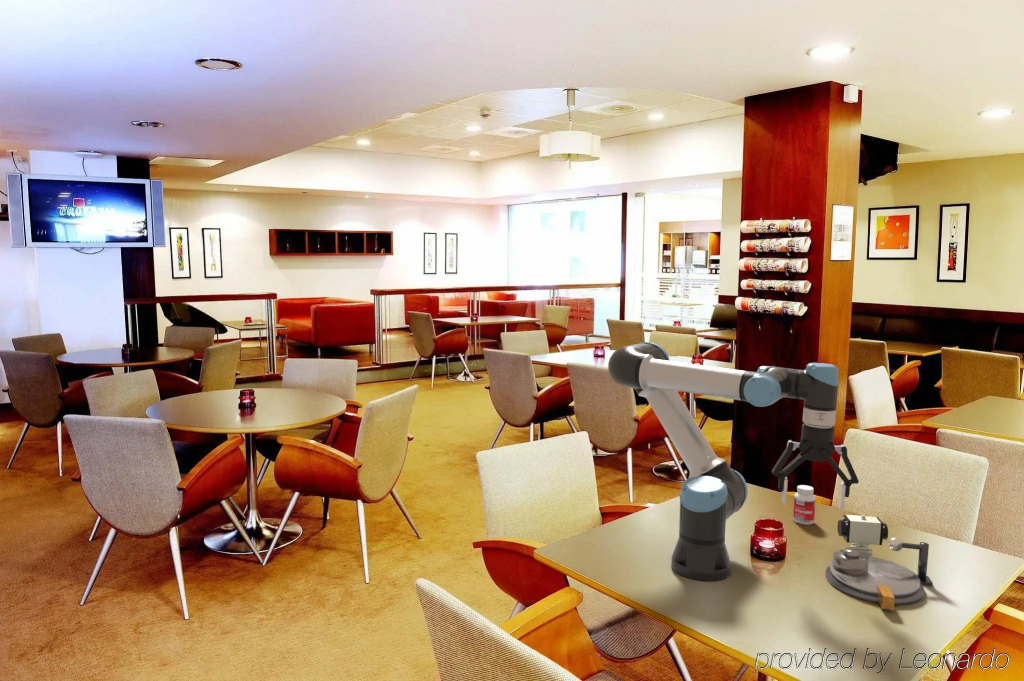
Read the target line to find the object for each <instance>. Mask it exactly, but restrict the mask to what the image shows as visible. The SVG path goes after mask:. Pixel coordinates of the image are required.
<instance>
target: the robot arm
mask: <svg viewBox="0 0 1024 681" xmlns="http://www.w3.org/2000/svg"><path fill="white" fill-rule="evenodd" d="M607 368H608V373H609V376H610V377H611V379H612V381H613V382H615V383H616V384H617V385H619V386H621V387H624V388H631V389H634V390H635V391H636V394H637V395H638V396H639V397H643V398H645V399H646V400H647V402H648V403H649V405H650V407H651V409H652V410H653V412H654V414H655V416H656V417H657V419H658V420H659V422H660V424H661V426H662V427H663V429H664V431H665V432H666V434H667V435H668V437H669V439H670V440H671V442H672V443H673V446H674V447H675V449H676V451H677V452H678V454H679V456H680V457H681V459H682V460H683V462H684V464H685V466H686V467H687V469H688V471H689V476H688V478H687V479H686V480H684V481H683V482H682V484H681V487H680V492H679V523H678V524H679V526H678V527H679V529H678V538H677V542H676V544H675V546H674V550H673V552H672V555H671V560H670V561H671V562H670V565H671V568H672V570H673V571H674V572H676V573H677V574H679V575H680V576H682V577H685V578H688V579H691V580H696V581H704V582H706V581H707V582H713V581H715V582H716V581H720V580H723V579H726V578H727V577H729V576H730V575H731V569H732V563H731V560H730V556H729V553H728V549H727V545H726V527H727V526H726V523H727V522H726V521H727V520H728V519H729V518H730V517H731V516H732V515H733V514H735V513H736V512H738V511H740V510H741V509H742V507H743V506H744V504H745V503H746V500H747V498H748V492H749V491H748V485H747V482H746V479H745V478H744V476H743V475H742V474H741V473H740V472H738V471H737V470H734V469H733V468H731V467H730V466H729V464H728V462H727V460H726V459H725V458H721V457H718V456H717V453H715V451H714V449H713V448H712V446H711V445H710V443H709V442H708V439H707V437H706V436H705V435H704V433H703V432H702V430H701V428H700V427H699V425H698V424H697V421H696V420H695V418H694V417H693V415H692V413H691V412H690V410H689V409H688V406H687V405H686V404H685V402H684V400H683V399H682V397H681V395H680V394H679V392H682V393H689V394H697V395H704V396H709V397H717V398H723V399H728V400H729V399H730V400H736V401H743V402H747V403H749V404H751V405H752V406H754V407H759V408H760V407H761V408H763V407H768V406H769V407H770V406H772V405H773V404H775V403H776V402H778V401H779V400H781V399H783V398H790V399H797V400H803V409H802V410H803V411H802V422H803V423H802V425H801V433H800V434H801V436H800V441H799V442H797V441H793V440H792V439H788V440H787V442H786V447H785V449H784V451H783V452H782V454H781V455H780V457H779V458H778V460H777V461H776V463H775V464H774V466H773V468H771V473H772V476H774V477H778V486H777V487H778V490H779V491H781V503H782V505H787V494H788V482H789V480H788V477H787V476H789V475H790V474H791V473H792V472H793V471H794V470H796V468H797V467H798V466H800V465H801V464H802V463H804V462H805V461H806V460H808V461H810V462H819V463H823V462H827V463H828V464H829V466H831V468H832V469H833V470H834V471H835V472H836V474H837V475H838V476H839V478H840V479H841V480H842V481H840V482H839V483H840V484H839V493H838V494H839V495H838V506H837V507H838V509H839V511H845V498H849V497H850V491H851V486H852V485H854V484H856V485H857V484H859V482H860V481H859V479H858V476H857V474H856V472H855V470H854V467H853V465H852V463H851V461H850V458H849V457H848V448H847V447H846V445H845V444H843V443H842V444H840V445H835V443H834V440H835V427H834V426H835V425H836V417H837V416H836V413H837V403H838V402H837V401H838V394H839V393H838V391H839V386H840V383H839V368H838V367H837V366H836V365H834V364H831V363H824V362H809V363H808V364H806V368H805V369H796V368H795V369H794V368H789V367H787V368H786V367H781V366H776V365H771V366H768V365H767V366H766V365H761V366H759V367H758V368H757V370H756V371H749V370H748V371H747V370H740V369H733V368H728V367H727V368H726V367H718V366H711V365H703V364H696V363H694V364H693V363H687V362H681V361H673V360H670V357H669V354H668V353H667V351H666V350H665V348H663V347H662V346H661V345H659V344H657V343H655V342H647V341H644V342H642V341H641V342H638V343H636V344H631V345H625V346H621V347H619V348H617V349H616V350H615V351H614V352H613V353H612V354H611V356H610V357H609V360H608V365H607ZM797 448H799V450H800V453H798V454H797V456H796V457H795V458H794V459H792V461H790V462H789V463H788V464H787V465H786V466H785V464H786V462H787V461H788V459H789V458H790V456H791V455H792V453H793V451H795V450H796V449H797ZM835 452H837V454H838V455H840V457H841V459H842V461H843V463H844V466H845V468H846V470H847V472H848V474H849V476H850V477H848V476H847V475H846V474H845V473H844V471H843V470H842V469H841V468H840V467H839V466H838V464H837V463H836V462H835V460H834V459H833V457H831V456H832V455H833V454H834V453H835ZM784 466H785V467H784ZM782 468H783V469H782Z"/></svg>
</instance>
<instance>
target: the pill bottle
mask: <svg viewBox="0 0 1024 681" xmlns="http://www.w3.org/2000/svg"><path fill="white" fill-rule="evenodd" d="M796 490H797V492H796V493H794V496H793V498H794V499H793V510H792V511H793V513H792V520H793V522H795V523H796V524H800V525H806V526H810V525H811V526H812V525H813V524H814V523H815V514H816V502H817V500H816V495H815V494H814V492H815V490H814V487H813V486H810V485H805V484H800V485H797V486H796Z"/></svg>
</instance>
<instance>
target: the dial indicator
mask: <svg viewBox="0 0 1024 681" xmlns="http://www.w3.org/2000/svg"><path fill="white" fill-rule="evenodd" d="M887 545H888V547H889V548H890V550H891V551H893V552H899V551H901V550H903V549H908V550H909V549H910V550H918V562H917V574H916V575H917V576H918V577H919V579H920V583H921V584H922V586H930V587H933V585H934V583H933V580H932V579H931V578H930V576H928V575H927V574H928V573H927V572H928V571H927V570H928V561H929V548H930V543H927V542H924V541H920V542H919V543H910V542H902V540H901V539H900V538H898V537H891V538H890V539H889V538H888V541H887Z"/></svg>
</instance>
